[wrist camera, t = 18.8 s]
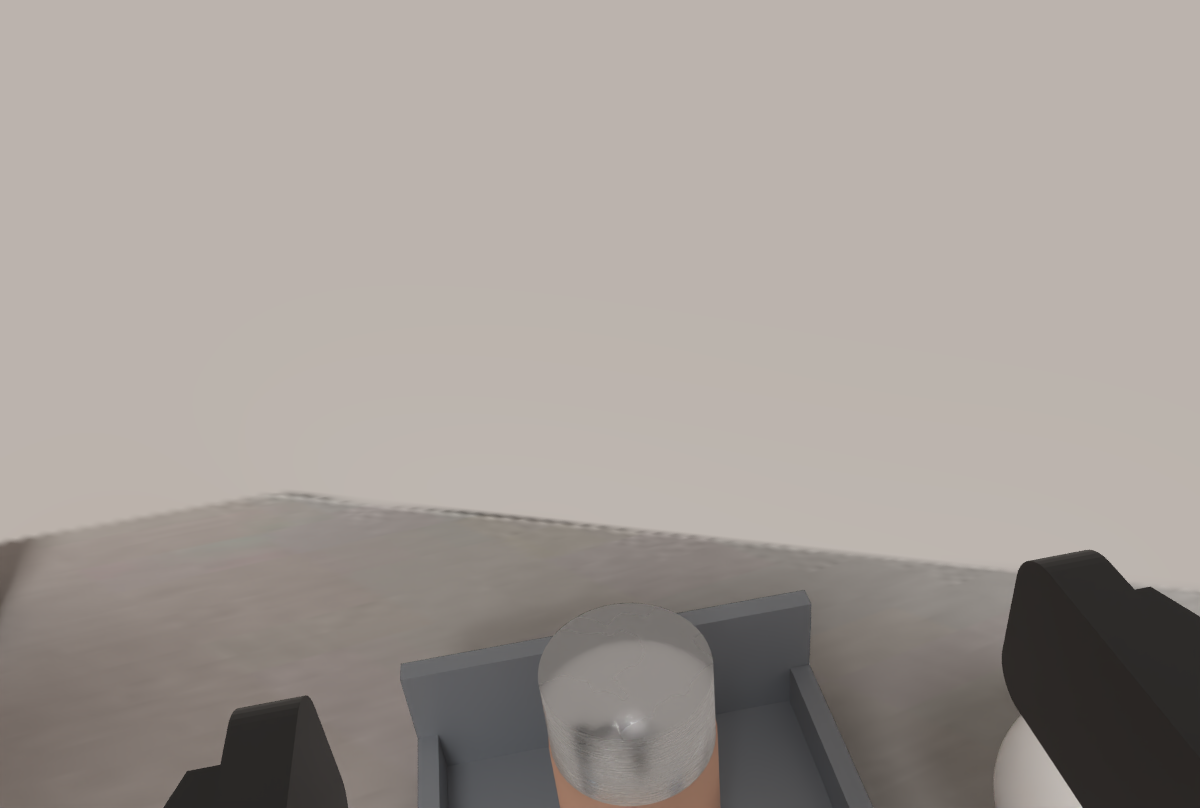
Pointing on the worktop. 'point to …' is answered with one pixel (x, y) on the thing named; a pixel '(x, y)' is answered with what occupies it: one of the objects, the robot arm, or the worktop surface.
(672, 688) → the tin can
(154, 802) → the worktop surface
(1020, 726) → the lightbulb
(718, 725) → the tote
